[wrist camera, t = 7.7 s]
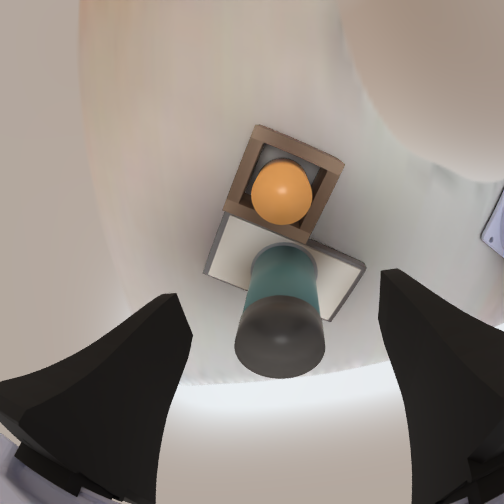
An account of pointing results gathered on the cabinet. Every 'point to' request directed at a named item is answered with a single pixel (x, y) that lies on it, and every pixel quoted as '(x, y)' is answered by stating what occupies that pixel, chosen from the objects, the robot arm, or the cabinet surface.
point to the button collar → (321, 186)
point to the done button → (281, 192)
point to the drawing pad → (260, 239)
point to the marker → (281, 316)
